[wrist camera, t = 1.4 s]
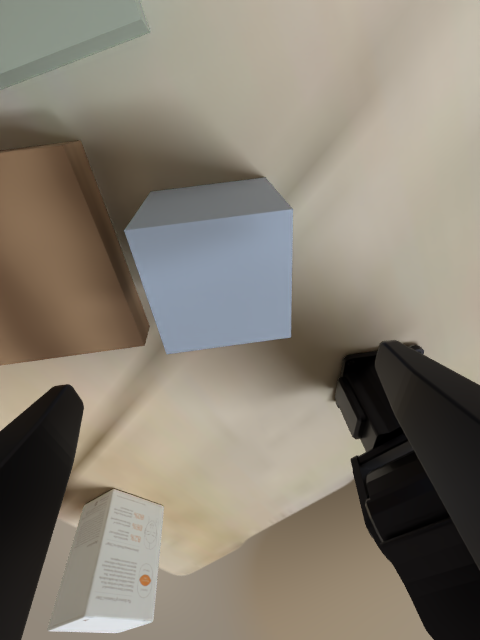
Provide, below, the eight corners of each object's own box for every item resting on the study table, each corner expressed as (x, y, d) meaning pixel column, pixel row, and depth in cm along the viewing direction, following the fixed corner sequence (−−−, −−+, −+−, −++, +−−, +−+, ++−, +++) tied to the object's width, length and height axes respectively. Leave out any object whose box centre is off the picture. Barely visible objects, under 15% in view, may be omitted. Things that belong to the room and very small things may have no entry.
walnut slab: (84, 139, 14) (62, 144, 12) (150, 321, 20) (144, 345, 18) (-150, 169, 13) (-212, 180, 11) (-6, 343, 20) (-29, 369, 18)
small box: (83, 503, 34) (42, 632, 26) (114, 486, 33) (81, 618, 24) (136, 519, 38) (116, 635, 30) (166, 505, 37) (153, 623, 28)
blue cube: (265, 177, 15) (292, 208, 10) (269, 278, 19) (290, 337, 14) (150, 191, 15) (124, 230, 10) (177, 290, 18) (166, 354, 14)
